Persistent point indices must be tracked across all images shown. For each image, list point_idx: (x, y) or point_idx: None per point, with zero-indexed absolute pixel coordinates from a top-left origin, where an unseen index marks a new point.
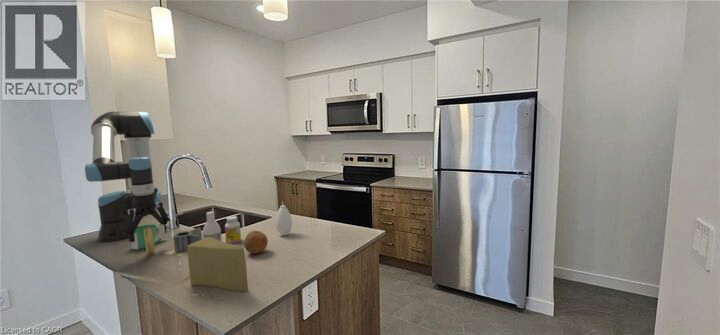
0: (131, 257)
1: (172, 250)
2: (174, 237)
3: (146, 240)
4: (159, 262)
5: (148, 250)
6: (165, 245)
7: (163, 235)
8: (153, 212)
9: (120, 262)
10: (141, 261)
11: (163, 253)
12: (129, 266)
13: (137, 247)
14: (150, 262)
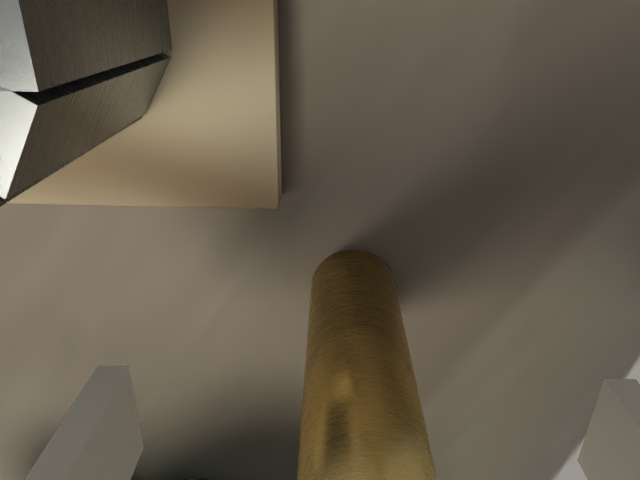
0: None
1: (156, 154)
2: (48, 78)
3: (432, 467)
4: (463, 28)
5: (404, 330)
6: (62, 420)
7: (101, 424)
8: None
9: (525, 447)
10: (473, 285)
11: (278, 183)
12: (610, 288)
13: (628, 398)
14: (482, 156)
